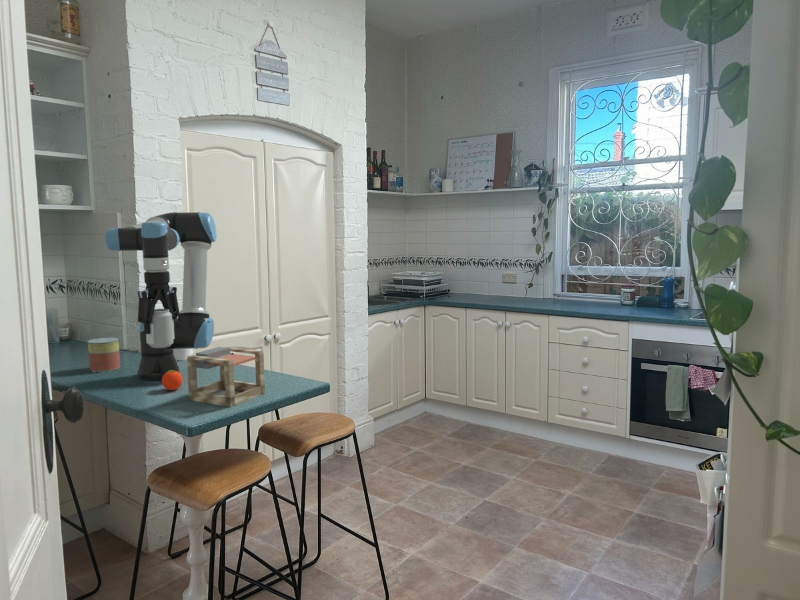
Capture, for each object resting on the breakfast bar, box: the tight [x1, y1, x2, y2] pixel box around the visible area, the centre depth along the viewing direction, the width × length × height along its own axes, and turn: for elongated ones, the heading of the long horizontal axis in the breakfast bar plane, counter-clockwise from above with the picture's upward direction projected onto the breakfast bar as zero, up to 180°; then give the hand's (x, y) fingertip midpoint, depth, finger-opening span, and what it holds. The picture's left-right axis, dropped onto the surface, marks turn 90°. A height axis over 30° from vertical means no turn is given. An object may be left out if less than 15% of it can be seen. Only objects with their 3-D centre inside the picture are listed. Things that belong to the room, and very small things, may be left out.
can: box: [147, 308, 173, 348], centre depth 191 cm, size 8×8×12 cm
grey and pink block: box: [195, 346, 256, 370], centre depth 199 cm, size 16×13×5 cm
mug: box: [173, 348, 197, 362], centre depth 259 cm, size 12×9×9 cm
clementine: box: [161, 370, 184, 391], centre depth 209 cm, size 8×7×7 cm
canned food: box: [87, 337, 121, 371], centre depth 239 cm, size 11×11×12 cm
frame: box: [186, 346, 266, 408], centre depth 200 cm, size 18×17×15 cm
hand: (160, 341), depth 192 cm, fingers closed on can, 7 cm apart
